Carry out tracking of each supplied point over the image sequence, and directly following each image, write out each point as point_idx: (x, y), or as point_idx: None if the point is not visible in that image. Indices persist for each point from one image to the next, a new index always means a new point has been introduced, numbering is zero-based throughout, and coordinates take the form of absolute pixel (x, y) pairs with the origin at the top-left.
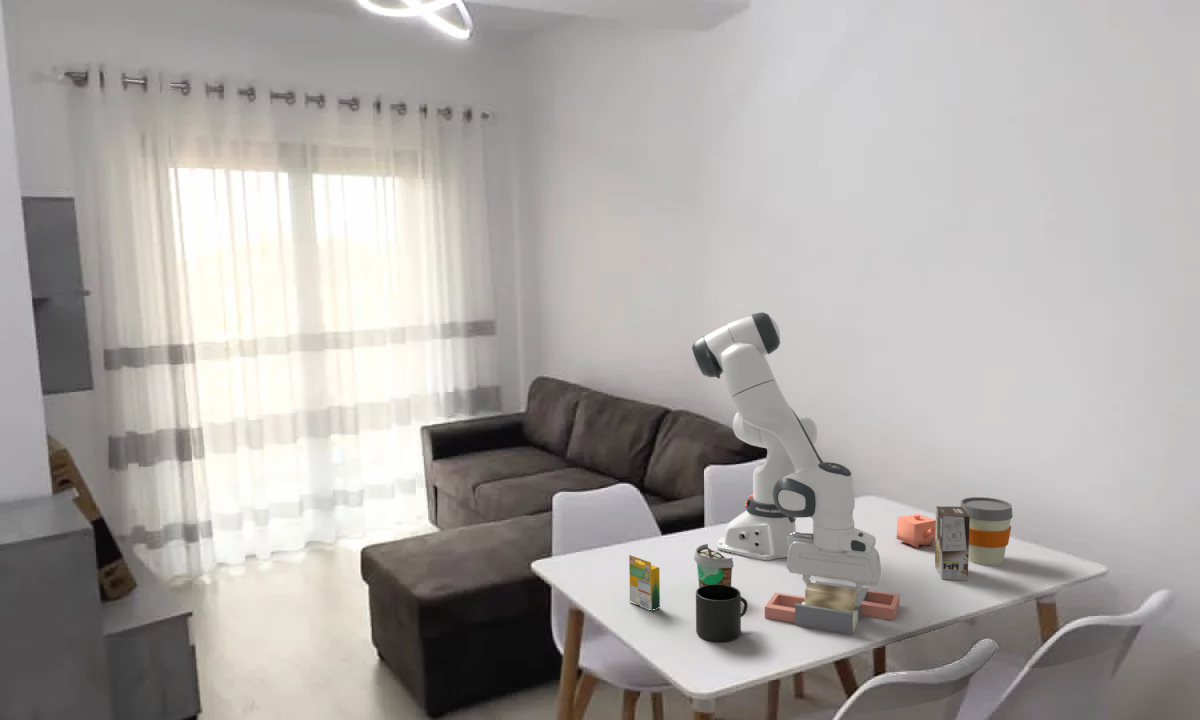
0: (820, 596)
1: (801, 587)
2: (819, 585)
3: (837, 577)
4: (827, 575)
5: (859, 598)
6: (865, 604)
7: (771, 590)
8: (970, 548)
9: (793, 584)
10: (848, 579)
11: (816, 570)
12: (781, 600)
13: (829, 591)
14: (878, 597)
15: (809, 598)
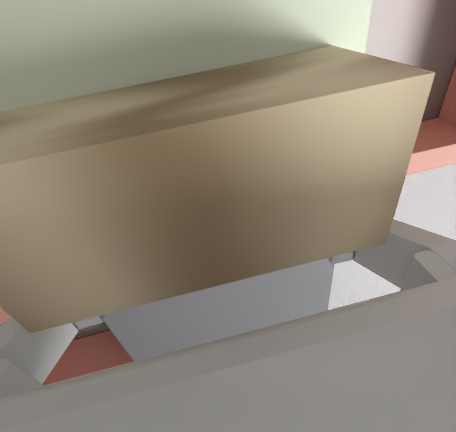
0: (249, 95)
1: (355, 289)
2: (308, 238)
3: (160, 376)
4: (277, 351)
5: (118, 311)
6: None
7: (451, 224)
8: None
9: (380, 291)
10: (32, 405)
11: (428, 359)
12: (444, 130)
13: (181, 175)
14: (94, 355)
15: (336, 63)
